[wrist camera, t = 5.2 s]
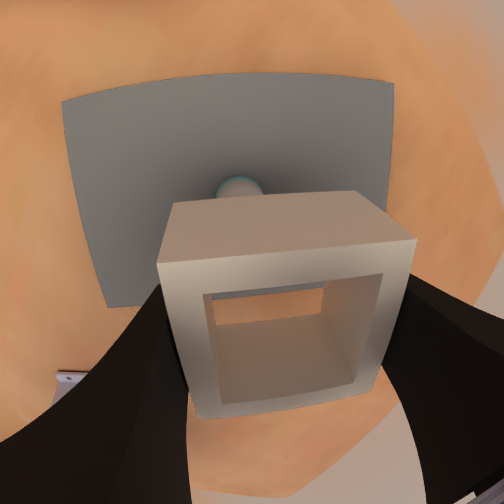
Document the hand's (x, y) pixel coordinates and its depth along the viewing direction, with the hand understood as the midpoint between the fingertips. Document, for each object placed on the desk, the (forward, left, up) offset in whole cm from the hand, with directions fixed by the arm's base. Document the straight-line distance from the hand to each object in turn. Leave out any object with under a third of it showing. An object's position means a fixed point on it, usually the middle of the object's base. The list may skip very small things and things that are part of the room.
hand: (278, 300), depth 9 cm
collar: (0, 0, -1) cm, 1 cm away
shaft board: (0, 0, -9) cm, 9 cm away
